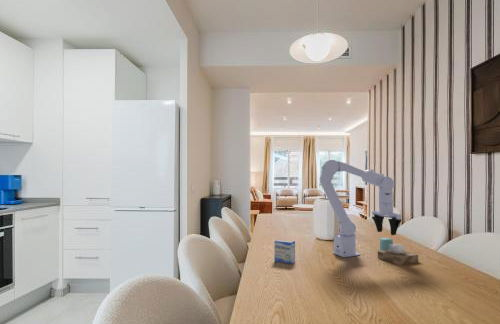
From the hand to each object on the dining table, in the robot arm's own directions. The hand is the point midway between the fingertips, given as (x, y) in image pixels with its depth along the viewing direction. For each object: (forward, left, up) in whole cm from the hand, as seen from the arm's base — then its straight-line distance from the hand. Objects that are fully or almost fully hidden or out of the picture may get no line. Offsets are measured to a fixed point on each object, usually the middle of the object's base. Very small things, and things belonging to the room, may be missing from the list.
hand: (386, 233), depth 133 cm
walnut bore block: (-1, -7, -10) cm, 12 cm away
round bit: (+6, +5, -10) cm, 13 cm away
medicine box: (-46, +11, -10) cm, 49 cm away
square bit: (-2, -7, -10) cm, 12 cm away
